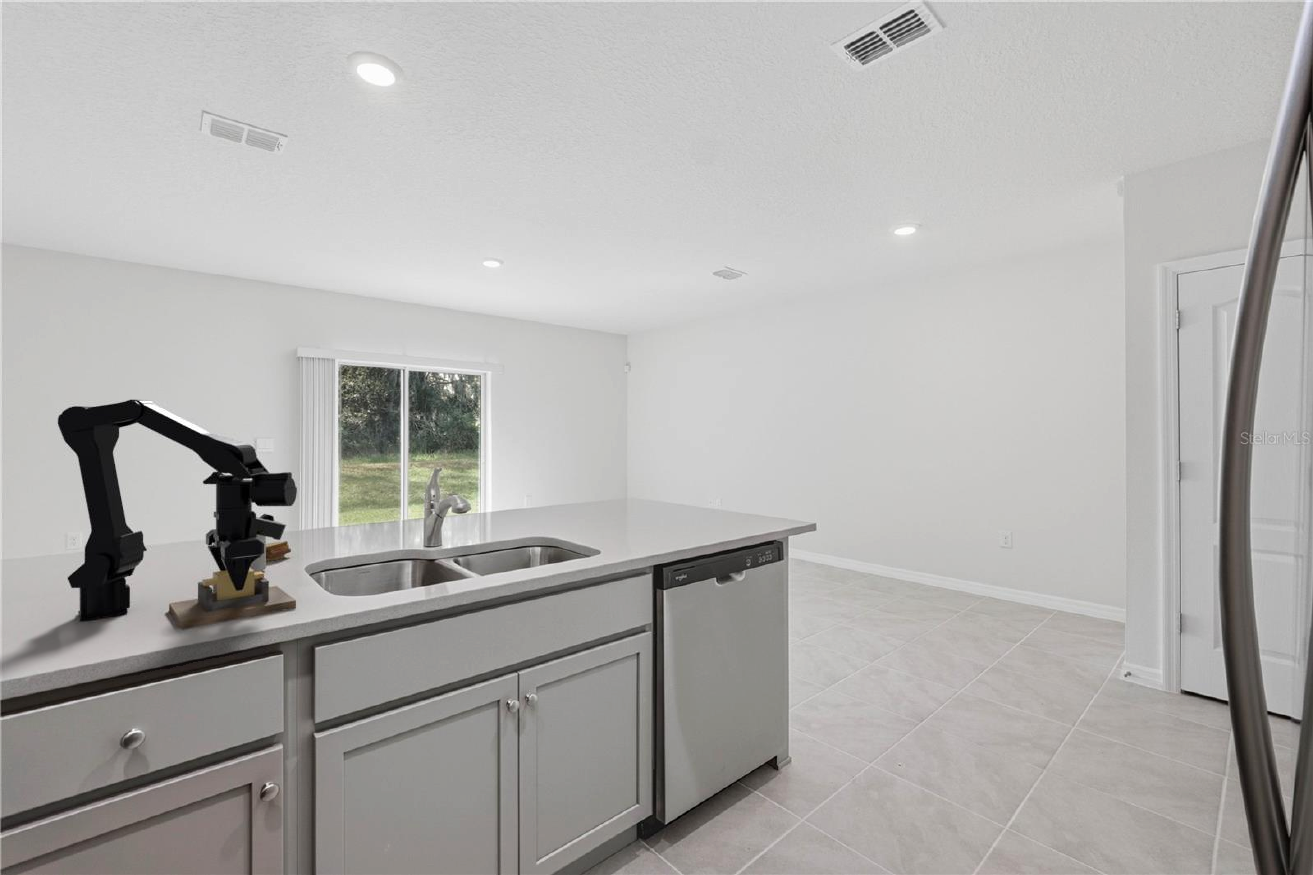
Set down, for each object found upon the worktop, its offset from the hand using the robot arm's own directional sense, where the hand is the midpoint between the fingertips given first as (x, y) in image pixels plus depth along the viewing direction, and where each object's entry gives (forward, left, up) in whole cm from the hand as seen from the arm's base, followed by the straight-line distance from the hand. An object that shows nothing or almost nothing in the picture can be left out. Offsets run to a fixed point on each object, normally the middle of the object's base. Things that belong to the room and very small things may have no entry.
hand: (233, 585), depth 115 cm
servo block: (0, 0, -3) cm, 3 cm away
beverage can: (+9, +30, -5) cm, 32 cm away
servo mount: (0, 0, -5) cm, 5 cm away
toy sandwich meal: (+14, +45, -5) cm, 47 cm away
